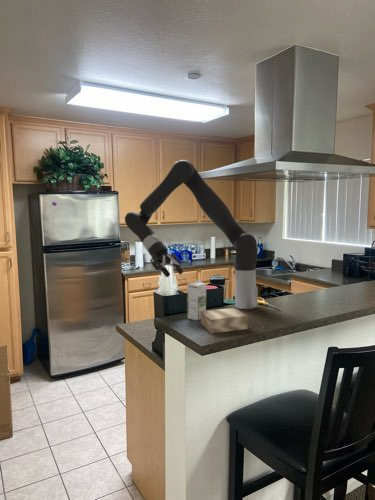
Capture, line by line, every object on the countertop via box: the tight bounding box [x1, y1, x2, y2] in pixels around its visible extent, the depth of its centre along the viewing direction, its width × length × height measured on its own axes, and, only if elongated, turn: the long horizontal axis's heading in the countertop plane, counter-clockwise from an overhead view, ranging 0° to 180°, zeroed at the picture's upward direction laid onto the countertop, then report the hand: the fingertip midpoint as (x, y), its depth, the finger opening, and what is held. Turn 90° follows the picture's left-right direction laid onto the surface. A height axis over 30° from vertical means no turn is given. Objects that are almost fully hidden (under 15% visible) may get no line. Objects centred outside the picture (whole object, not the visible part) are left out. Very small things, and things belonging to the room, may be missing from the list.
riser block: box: [200, 307, 248, 334], centre depth 136 cm, size 14×12×5 cm
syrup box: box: [186, 281, 207, 321], centre depth 147 cm, size 6×6×14 cm
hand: (175, 274), depth 153 cm, fingers open, 8 cm apart
